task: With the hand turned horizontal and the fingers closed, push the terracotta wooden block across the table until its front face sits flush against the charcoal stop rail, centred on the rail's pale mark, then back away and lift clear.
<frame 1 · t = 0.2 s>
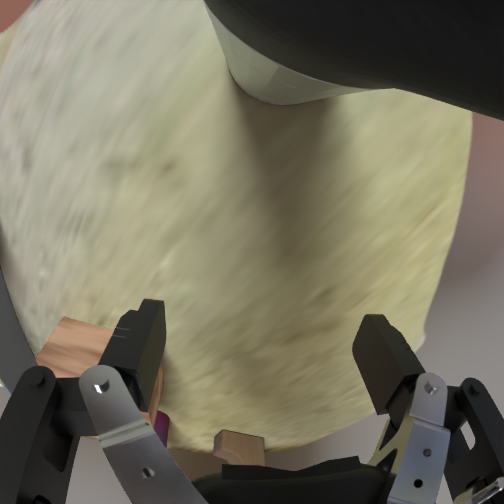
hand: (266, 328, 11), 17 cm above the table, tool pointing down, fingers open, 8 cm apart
cup: (156, 415, 44), on the table
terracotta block: (113, 351, 36), on the table
stop rail: (16, 323, 34), on the table
wooden block: (239, 436, 48), on the table
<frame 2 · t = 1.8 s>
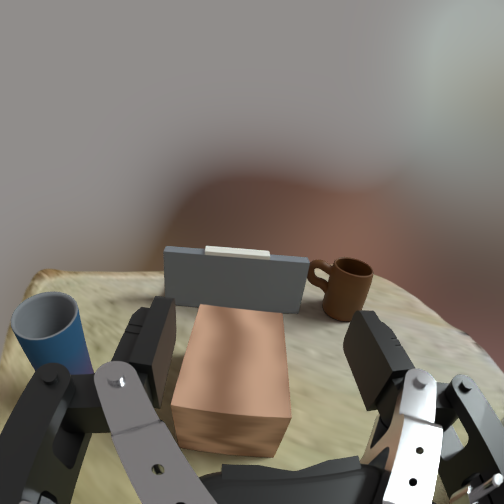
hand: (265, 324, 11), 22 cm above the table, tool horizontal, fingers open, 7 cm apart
cup: (87, 413, 25), on the table
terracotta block: (231, 402, 31), on the table
stop rail: (232, 306, 49), on the table
mug: (329, 309, 52), on the table
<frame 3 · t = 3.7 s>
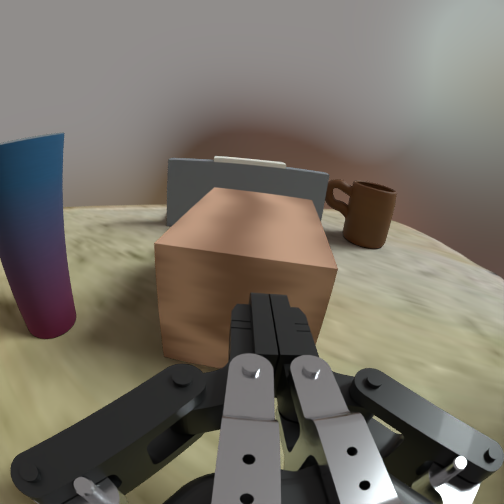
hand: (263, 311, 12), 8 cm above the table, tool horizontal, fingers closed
cup: (52, 321, 20), on the table
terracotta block: (245, 310, 25), on the table
stop rail: (242, 229, 43), on the table
mug: (350, 238, 46), on the table
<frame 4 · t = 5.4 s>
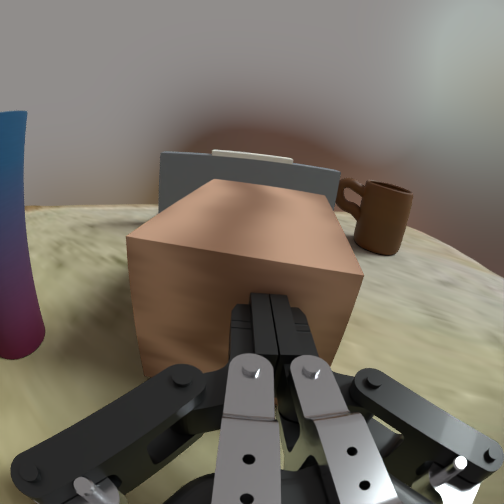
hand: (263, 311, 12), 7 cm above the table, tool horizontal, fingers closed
cup: (18, 338, 15), on the table
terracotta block: (244, 321, 22), on the table, touching gripper
stop rail: (243, 232, 39), on the table
mug: (361, 243, 41), on the table
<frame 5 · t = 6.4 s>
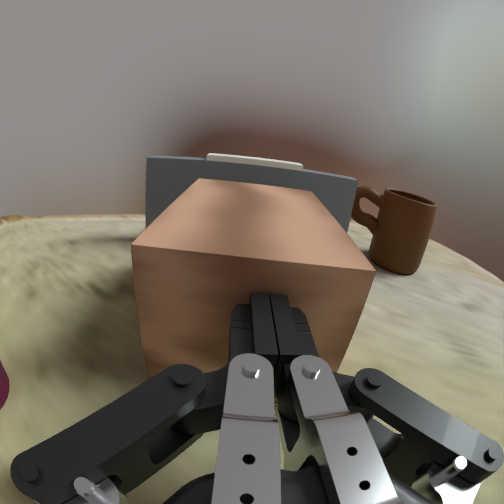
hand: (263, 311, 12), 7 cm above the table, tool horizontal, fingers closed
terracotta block: (241, 321, 21), on the table
stop rail: (244, 249, 33), on the table
mug: (377, 260, 36), on the table
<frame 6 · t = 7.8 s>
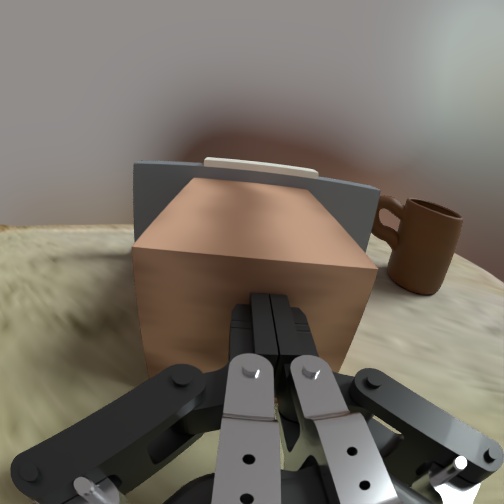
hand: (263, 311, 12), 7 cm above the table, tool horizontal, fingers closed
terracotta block: (240, 321, 21), on the table, touching gripper, stop rail
stop rail: (248, 269, 29), on the table
mug: (396, 278, 31), on the table
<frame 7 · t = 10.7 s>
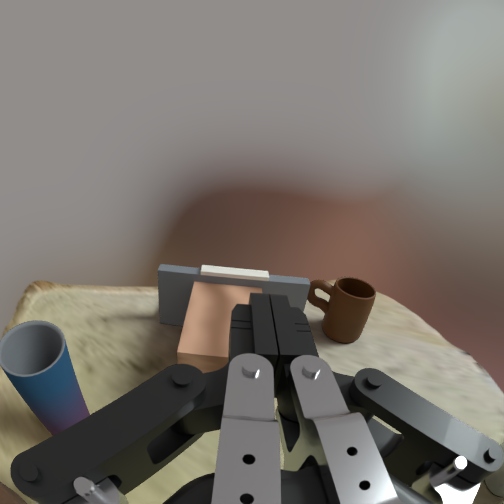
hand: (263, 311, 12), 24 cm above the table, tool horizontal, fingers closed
cup: (80, 438, 22), on the table
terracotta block: (221, 363, 39), on the table
stop rail: (229, 326, 47), on the table
mug: (328, 329, 49), on the table
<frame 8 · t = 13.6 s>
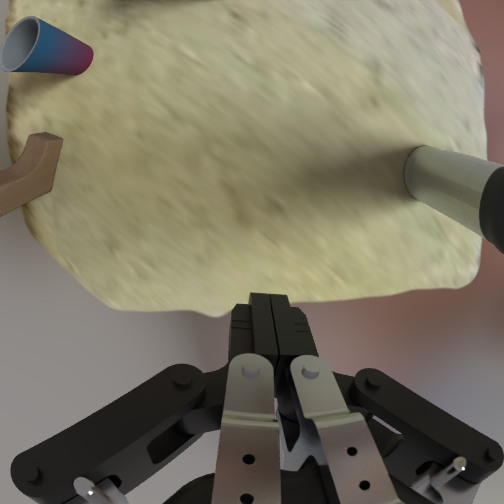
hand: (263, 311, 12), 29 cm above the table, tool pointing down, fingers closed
cup: (80, 60, 29), on the table
wooden block: (48, 161, 35), on the table
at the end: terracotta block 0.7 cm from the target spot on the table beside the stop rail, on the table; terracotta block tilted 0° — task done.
